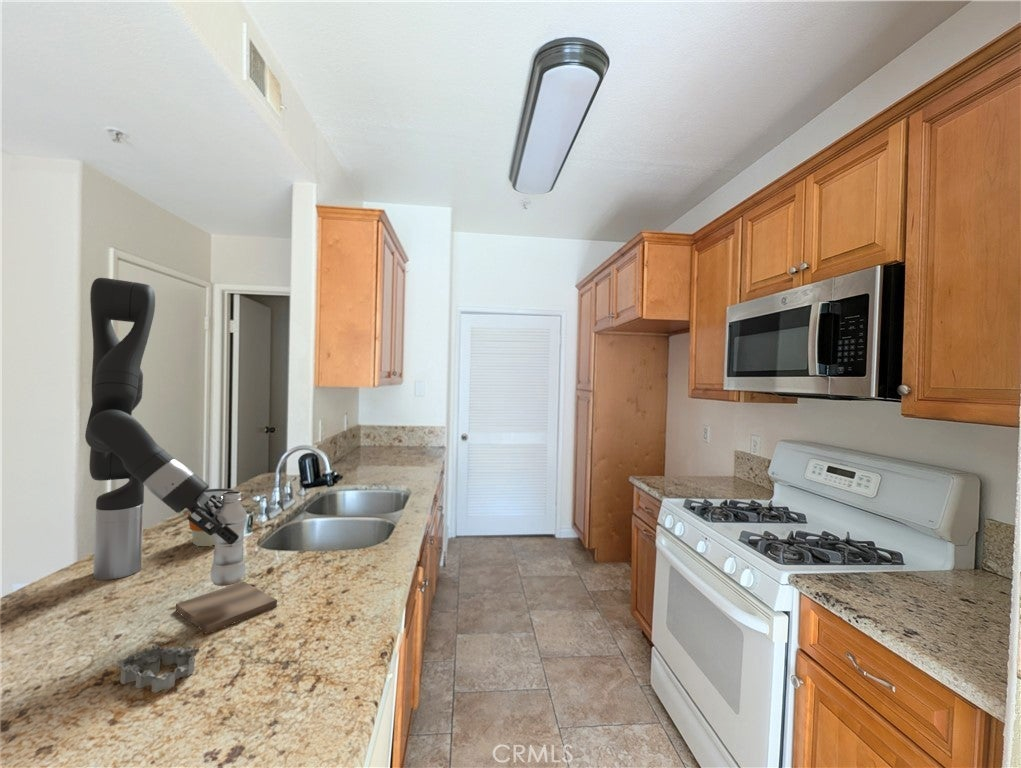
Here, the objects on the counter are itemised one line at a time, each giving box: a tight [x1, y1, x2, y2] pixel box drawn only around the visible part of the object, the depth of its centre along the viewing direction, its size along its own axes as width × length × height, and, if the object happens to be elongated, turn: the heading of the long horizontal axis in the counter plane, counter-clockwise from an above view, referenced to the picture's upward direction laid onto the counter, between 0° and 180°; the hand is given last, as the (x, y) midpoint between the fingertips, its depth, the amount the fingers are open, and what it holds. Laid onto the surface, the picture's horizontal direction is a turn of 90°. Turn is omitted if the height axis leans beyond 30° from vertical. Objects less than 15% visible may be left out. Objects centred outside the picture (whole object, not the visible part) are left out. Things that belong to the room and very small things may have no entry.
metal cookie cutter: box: [116, 644, 200, 693], centre depth 76 cm, size 11×8×4 cm
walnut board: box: [175, 581, 278, 634], centre depth 98 cm, size 15×14×2 cm
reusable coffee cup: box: [188, 487, 236, 547], centre depth 137 cm, size 13×13×15 cm
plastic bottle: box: [210, 490, 248, 587], centre depth 98 cm, size 6×7×20 cm
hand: (238, 535), depth 99 cm, fingers closed on plastic bottle, 6 cm apart
